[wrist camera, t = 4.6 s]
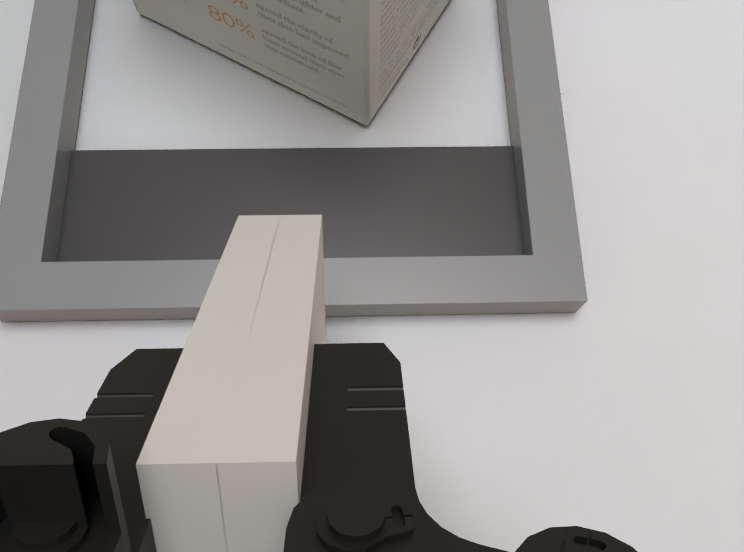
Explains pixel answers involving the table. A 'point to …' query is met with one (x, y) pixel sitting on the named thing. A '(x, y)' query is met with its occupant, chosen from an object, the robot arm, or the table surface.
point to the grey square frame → (287, 203)
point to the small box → (311, 42)
